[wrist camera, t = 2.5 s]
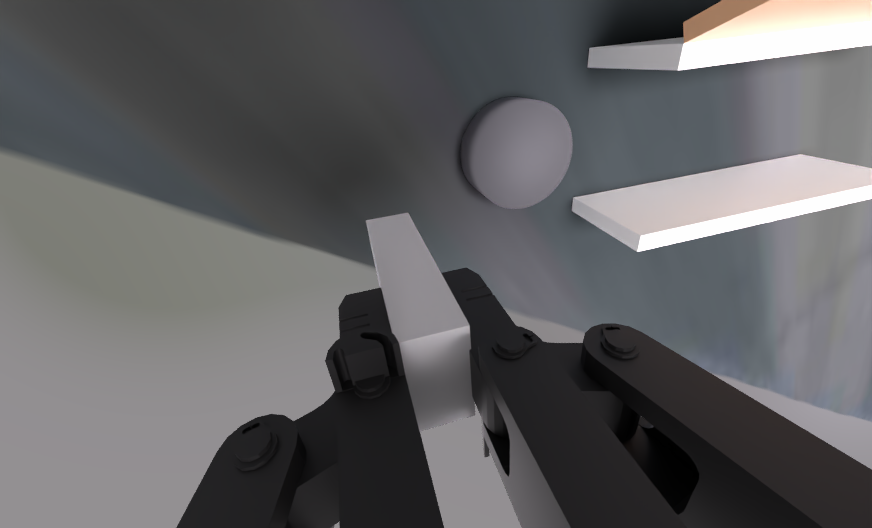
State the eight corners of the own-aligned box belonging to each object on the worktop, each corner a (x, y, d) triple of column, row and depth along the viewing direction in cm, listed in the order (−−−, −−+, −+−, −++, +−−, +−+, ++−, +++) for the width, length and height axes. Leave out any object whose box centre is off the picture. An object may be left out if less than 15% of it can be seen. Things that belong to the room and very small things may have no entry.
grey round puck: (455, 105, 20) (470, 110, 18) (551, 88, 21) (576, 91, 19) (464, 204, 23) (478, 218, 21) (547, 185, 24) (569, 197, 22)
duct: (589, 47, 21) (684, 43, 15) (857, 17, 24) (1014, 4, 18) (571, 210, 26) (637, 251, 20) (795, 166, 29) (903, 191, 24)
